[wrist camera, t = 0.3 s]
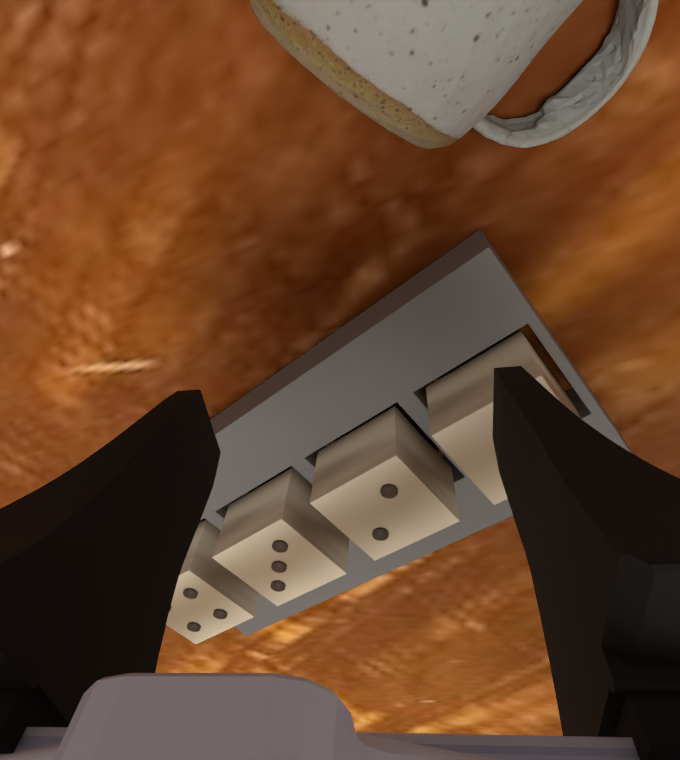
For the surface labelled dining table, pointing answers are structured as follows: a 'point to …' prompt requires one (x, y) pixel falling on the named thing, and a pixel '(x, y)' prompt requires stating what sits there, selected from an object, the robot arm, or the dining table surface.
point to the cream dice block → (384, 486)
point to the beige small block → (281, 540)
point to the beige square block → (208, 592)
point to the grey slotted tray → (384, 398)
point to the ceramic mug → (452, 61)
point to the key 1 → (481, 409)
